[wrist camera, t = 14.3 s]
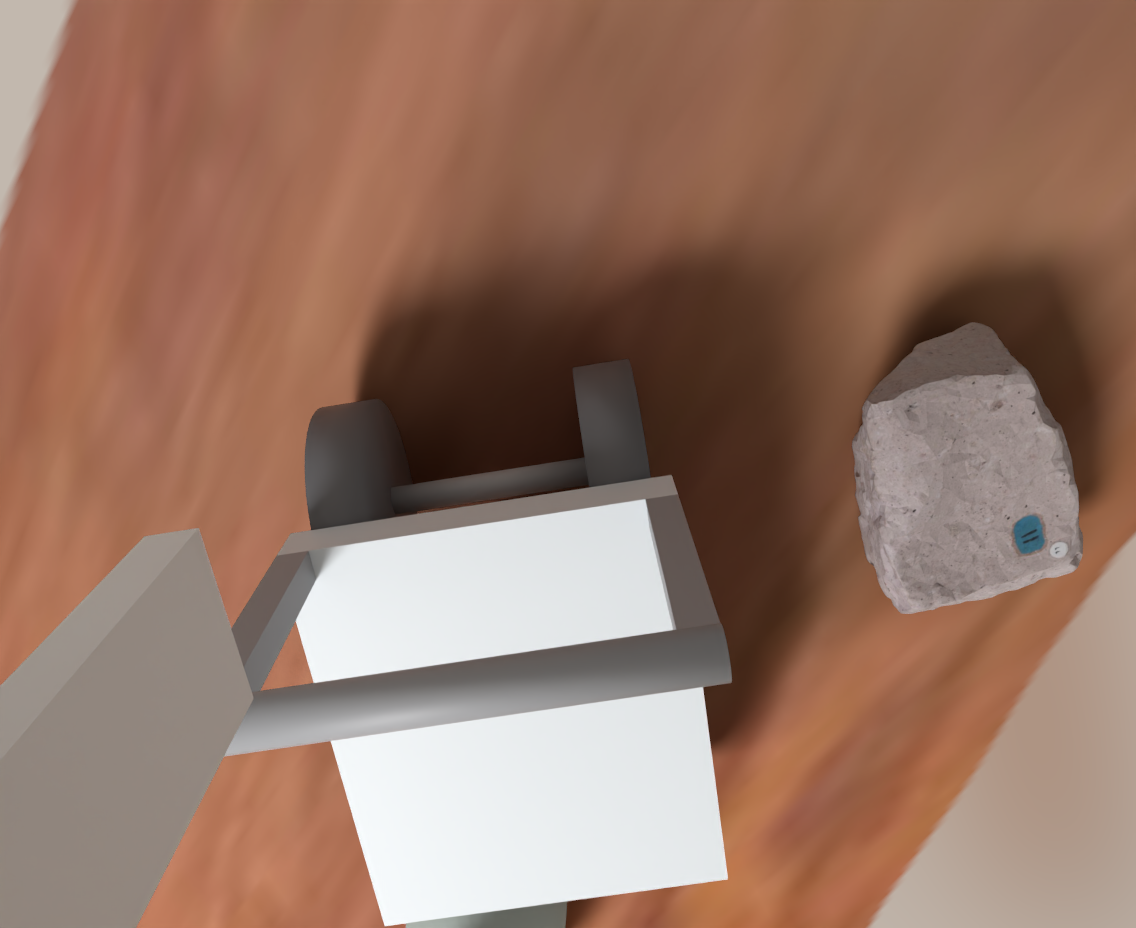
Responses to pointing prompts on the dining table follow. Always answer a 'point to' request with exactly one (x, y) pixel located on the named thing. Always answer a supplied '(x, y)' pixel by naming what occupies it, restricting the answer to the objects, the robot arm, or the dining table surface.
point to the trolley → (499, 665)
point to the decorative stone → (963, 476)
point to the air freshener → (504, 918)
